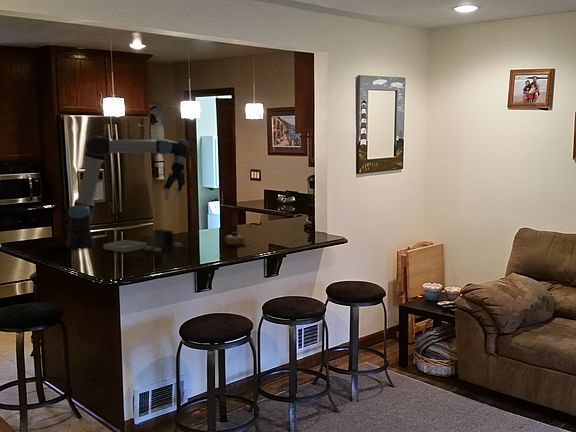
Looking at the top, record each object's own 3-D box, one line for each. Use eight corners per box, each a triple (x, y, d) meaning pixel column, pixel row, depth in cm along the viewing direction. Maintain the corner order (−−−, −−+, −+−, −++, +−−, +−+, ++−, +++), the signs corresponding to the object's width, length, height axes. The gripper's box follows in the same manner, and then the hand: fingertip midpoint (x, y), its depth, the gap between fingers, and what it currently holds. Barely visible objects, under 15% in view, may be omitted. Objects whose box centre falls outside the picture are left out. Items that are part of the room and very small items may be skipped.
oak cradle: (144, 249, 354) (144, 246, 353) (166, 244, 369) (166, 241, 369) (160, 252, 347) (160, 248, 347) (182, 247, 363) (182, 243, 362)
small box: (173, 249, 357) (173, 230, 356) (164, 250, 352) (164, 232, 351) (162, 246, 364) (162, 228, 363) (153, 248, 359) (152, 230, 358)
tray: (103, 249, 354) (103, 244, 353) (125, 245, 368) (125, 240, 367) (124, 252, 345) (124, 247, 344) (146, 248, 359) (146, 242, 358)
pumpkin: (220, 245, 371) (220, 230, 370) (235, 242, 379) (235, 227, 378) (234, 247, 363) (234, 232, 361) (249, 245, 371) (249, 230, 370)
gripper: (195, 163, 370) (188, 197, 365) (173, 170, 389) (166, 202, 383) (184, 158, 366) (177, 193, 360) (162, 166, 384) (155, 198, 379)
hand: (171, 198), depth 372 cm, fingers open, 13 cm apart
